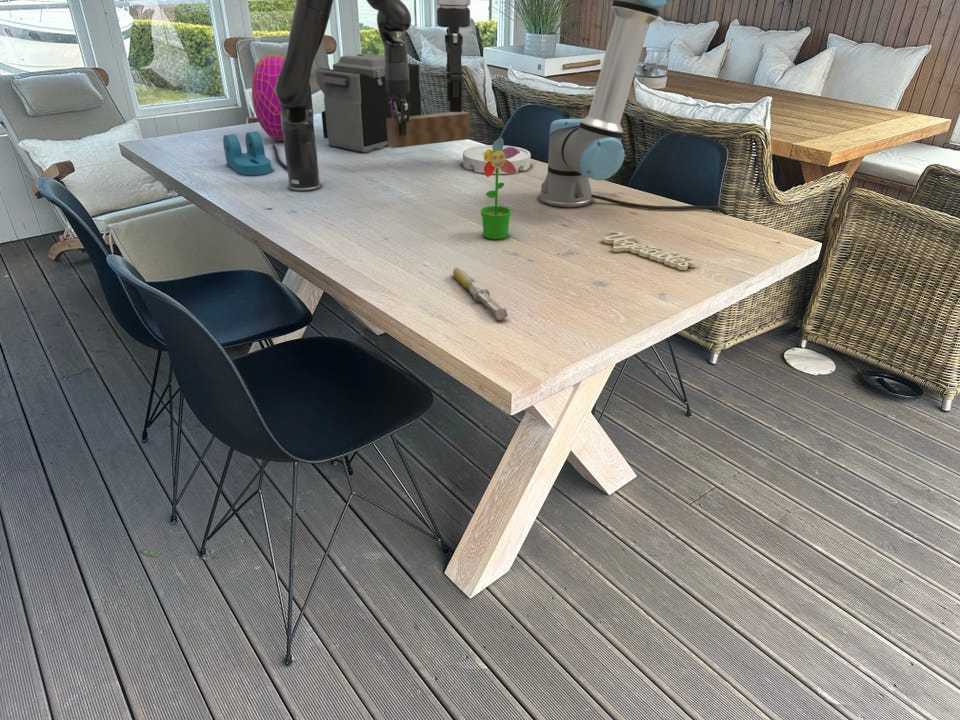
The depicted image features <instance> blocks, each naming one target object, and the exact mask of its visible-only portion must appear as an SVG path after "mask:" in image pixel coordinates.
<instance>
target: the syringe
mask: <svg viewBox="0 0 960 720" xmlns="http://www.w3.org/2000/svg"><path fill="white" fill-rule="evenodd" d="M452 274H453V277H454V279H455V280H457V281H458V282H459V283H460V285H462V287H464V289H466V290H467V291H468V293H470V295H471V296H472V298H473V300H474V302H477V303H478V302H480V303H482V304H483V305H484V306H485V307H486V308H487V309H488V310H489V311H490V312H491V313H492V314H493V315H494V316H495V317H496V320H497V321H503V320H504V319H506V318H507V317H509V314H508V310H507V308H506V307H502V306H501V305H500V303H498V302H497V301H496V300H494V299H493V298H492V297H491V296H490V295H491V293H490V290H488V289H486V288H483V287H482V286H481V285H480V284H479V283H478V282H477V281H476V280H474V278H473V277H471V275H469V274H468V273H467V272H466V270H465V269H464V268H463V267H462V266H456V267H454V268H453V271H452Z"/></svg>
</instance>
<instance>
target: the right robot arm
mask: <svg viewBox="0 0 960 720" xmlns="http://www.w3.org/2000/svg"><path fill="white" fill-rule="evenodd" d="M610 1H611V2H612V5H611V9H612V11H613V14H614V21H613V23H612V28H611V32H610V35H609V38H608V43H607V47H606V49H605V53H604V57H603V61H602V64H601V69H600V71H599V75H598V78H597V82H596V86H595V88H594V89H595V90H594V93H593V97H592V101H591V104H590V108H589V111H588V115H587V116H586V117H584V118H562V119H554V120H553V121H552V122H551V124H550V127H549V128H550V129H549V133H548V136H549V141H548V142H549V143H548V156H547V158H548V159H547V173H546V176H545V178H544V181H543V182H542V184H541V186H540V192H539V200H540V202H542V203H543V204H546V205H549V206H553V207H558V208H559V207H560V208H580V207H584V206H588V205H589V204H591V203H592V199H596V200H600V201H606V202H609V203H612V204H616V205H622V206H626V207H632V208H639V209H646V210H647V209H650V210H667V211H668V210H670V211H671V210H673V211H674V210H676V211H677V210H679V211H681V210H716V211H718V212H720V213H722V214H723V215H724V216H729V213H728V211H727V210H725V209H724V208H723V207H721V206H718V205H650V204H640V203H633V202H629V201H623V200H619V199H615V198H610V197H606V196H603V195H598V194H593V193H592V188H591V184H590V179H591V180H593V181H605V180H608V179H609V178H611V177H612V176H614V175H616V173H617V172H618V171H619V170H620V168H621V167H622V166H623V164H624V161H625V149H624V144H623V143H622V137H623V135H624V129H623V127H622V125H621V121H622V118H623V115H624V111H625V108H626V104H627V102H628V98H629V94H630V91H631V88H632V85H633V81H634V78H635V74H636V71H637V68H638V64H639V60H640V57H641V53H642V50H643V47H644V43H645V40H646V36H647V34H648V29H649V27H650V25H651V24H652V23H653V22H655V21H656V20H658V18H659V15H660V11H661V8H662V7H663V6H666V4H667V3H668V2H670V1H671V0H610ZM436 5H437V6H439V7H438V8H437V9H436V25H437V26H438V27H441V28H446V34H444V43H445V52H446V65H445V67H446V102H449V112H462V111H463V110H462V108H463V107H462V105H463V104H462V102H463V98H462V97H463V96H462V94H463V93H462V91H463V89H462V88H463V87H462V86H463V85H462V84H463V83H462V80H463V72H462V69H463V68H462V67H463V66H462V55H463V44H464V43H463V42H464V41H463V40H464V36H463V35H462V33H461V32H460V28H467V27H469V26H470V25H471V9H470V8H469V7H468V6H470V5H471V0H436Z"/></svg>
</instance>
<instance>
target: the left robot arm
mask: <svg viewBox="0 0 960 720" xmlns="http://www.w3.org/2000/svg"><path fill="white" fill-rule="evenodd" d="M366 2H367V3H368V5H369V6H370V8H372V9H373V10H376V11H377V14H376V26H377V29H378V33H379V37H380V40H381V42H382V45H383V53H384V54H383V55H384V56H385V86H386V93H387V94H390V95H391V97H388V98H387V101H388V108H389V115H390V117H392V118H397V117H398V120H399V134H400V135H401V136H403V135H406V134H407V131H406V123H407V122H409V116H410V104H409V103H406V99H405V95H406V94H408V93H409V92H410V85H409V68H408V64H409V61H408V60H409V59H408V46H407V42H405V41H404V40H402V39H400V38H399V37H398V33H403V32H407V31H408V30H409V29H410V27H411V25H412V15H411V12H410V10H409V9H408V7H407V5H406V4H405V3H404V2H403V1H401V0H366ZM333 4H334V0H296V1H295V5H294V9H293V15H292V19H291V24H290V29H289V36H288V42H287V43H288V44H287V50H286V54H285V56H284V57H285V61H284V63H283V66H282V69H281V72H280V75H279V77H278V80H277V82H276V86H275V91H276V95H277V98H278V99H279V101H280V105H281V126H282V133H283V141H282V142H283V148H284V155H285V162H283V161H282V160H281V159H280V156H279V153H278V148H277V146H276V144H272V148H273V150H274V154H275V158H276V161H277V162H278V163H279V164H280V165H281V166H282V167H283V168H284V169H285V170H286V171H287V178H288V179H287V180H288V188H289V189H290V190H292V191H296V192H307V191H308V192H309V191H314V190H316V189H317V190H318V189H319V188H321V182H320V181H321V180H320V172H319V163H318V153H317V144H316V135H315V126H314V109H313V98H312V97H313V96H312V89H311V83H310V79H311V74H312V68H313V64H314V61H315V58H316V55H317V53H318V51H319V49H320V47H321V44H322V42H323V40H324V36H325V34H326V30H327V27H328V24H329V20H330V17H331V13H332V8H333ZM406 115H407V117H406ZM285 163H286V164H285Z"/></svg>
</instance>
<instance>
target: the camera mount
mask: <svg viewBox="0 0 960 720" xmlns="http://www.w3.org/2000/svg"><path fill="white" fill-rule="evenodd" d="M222 140H223V141H222V143H223V149H224V150H223V151H224V156H225V161H226V165H227V166H228V167H230V168H231V169H232V170H234V171H236V172H237V173H238V174H239V175H244V176H260V175H265V174H268V173H271V172H272V164H271V159H270V158H268V157H267V156H266V153H265V145H264V141H263V139H262V136H261V134H260V132H258V131H247V132H246V133H245V146H246V152H243V151H242V150H243V149H242V146H241V142H240V140H239V138H238V135H236V134H235V133H231V134H224V135H223V138H222Z"/></svg>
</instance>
